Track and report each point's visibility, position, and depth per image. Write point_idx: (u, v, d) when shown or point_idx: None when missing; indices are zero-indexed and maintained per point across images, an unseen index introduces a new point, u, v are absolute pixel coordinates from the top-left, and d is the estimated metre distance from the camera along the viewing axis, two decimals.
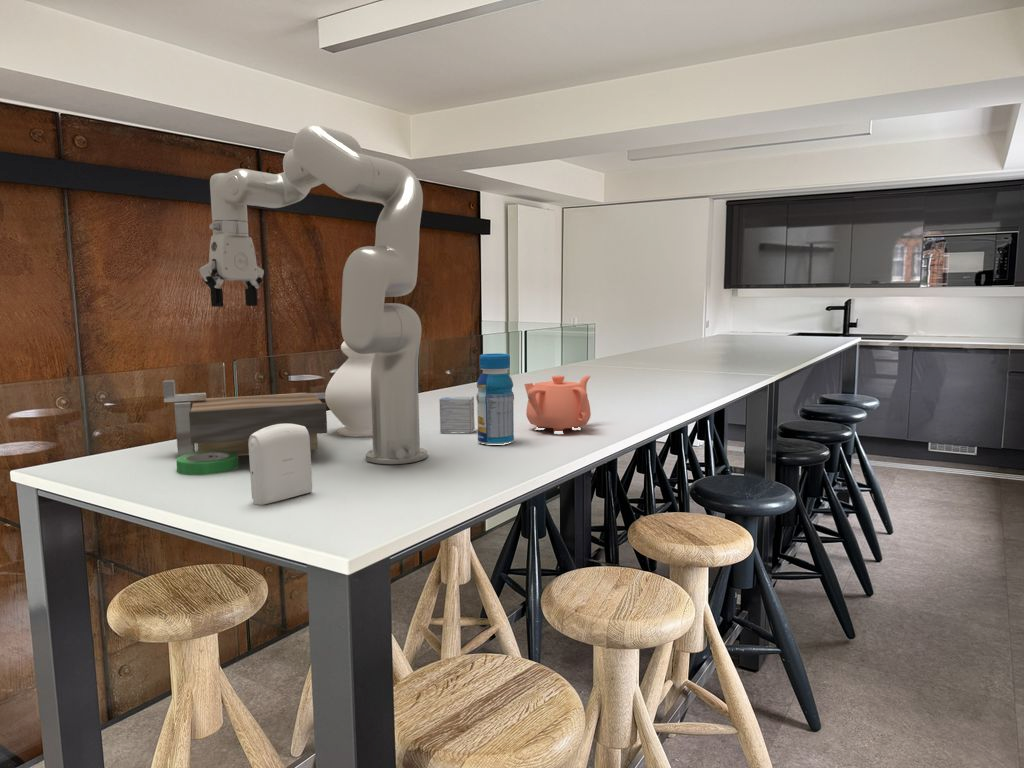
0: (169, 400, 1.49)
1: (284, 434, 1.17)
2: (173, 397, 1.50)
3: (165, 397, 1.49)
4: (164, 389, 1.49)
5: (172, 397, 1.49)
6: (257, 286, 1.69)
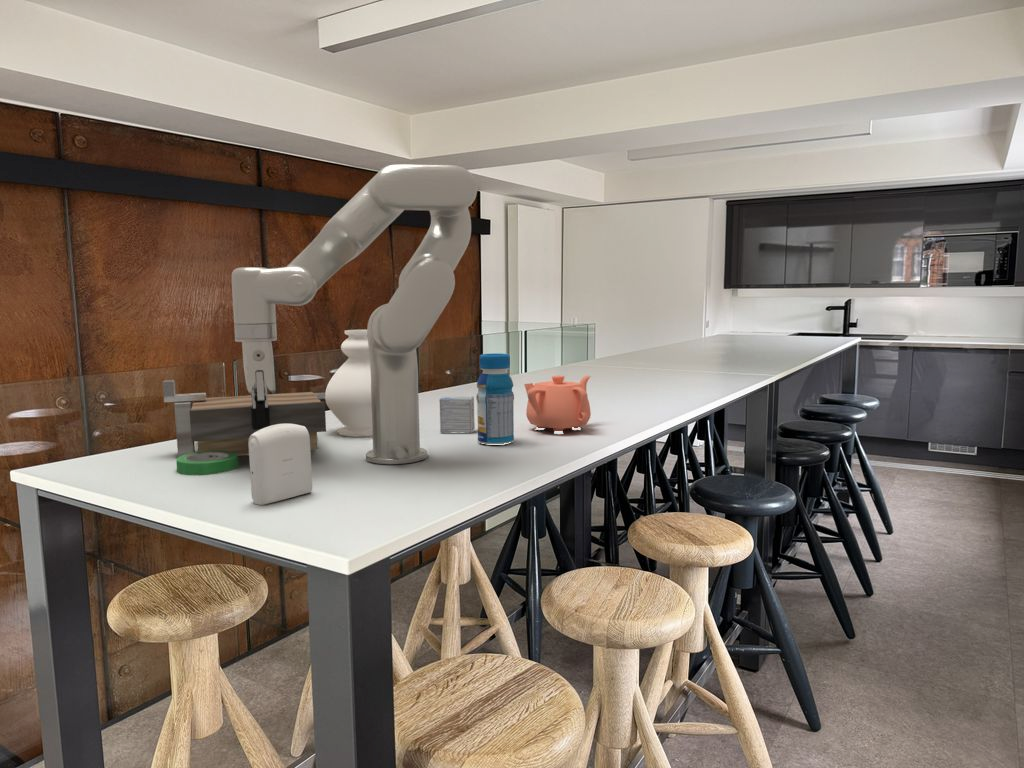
0: (169, 400, 1.49)
1: (284, 434, 1.17)
2: (173, 397, 1.50)
3: (165, 397, 1.49)
4: (164, 389, 1.49)
5: (172, 397, 1.49)
6: None
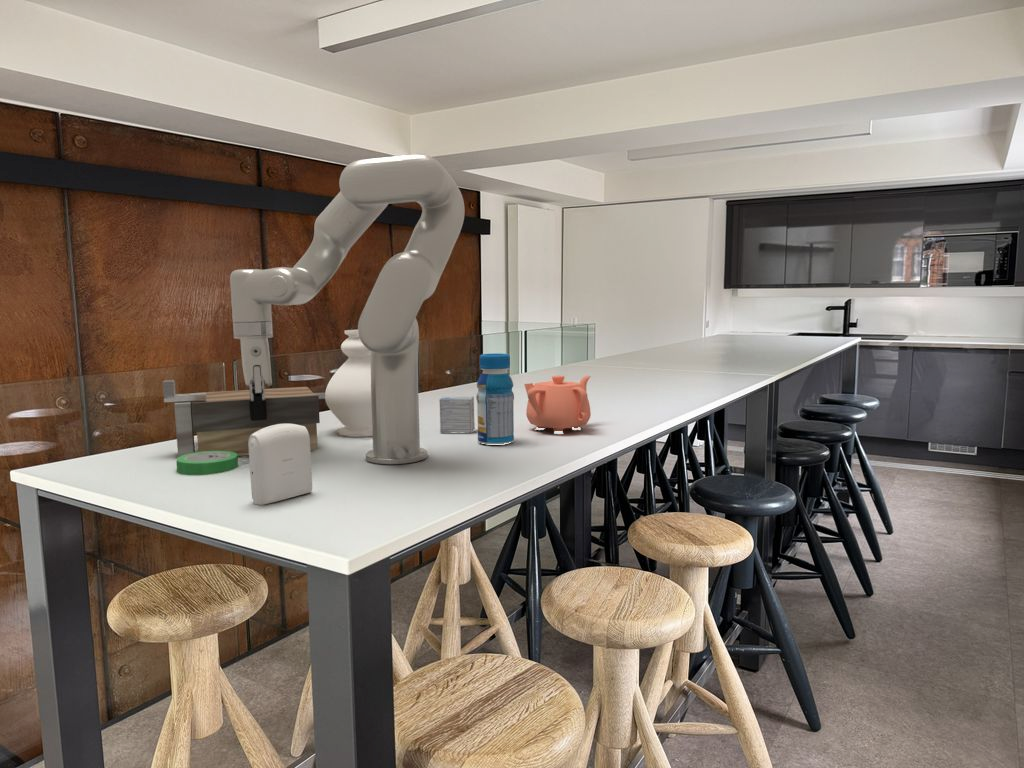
0: (169, 400, 1.49)
1: (284, 434, 1.17)
2: (173, 397, 1.50)
3: (165, 397, 1.49)
4: (164, 389, 1.49)
5: (172, 397, 1.49)
6: None
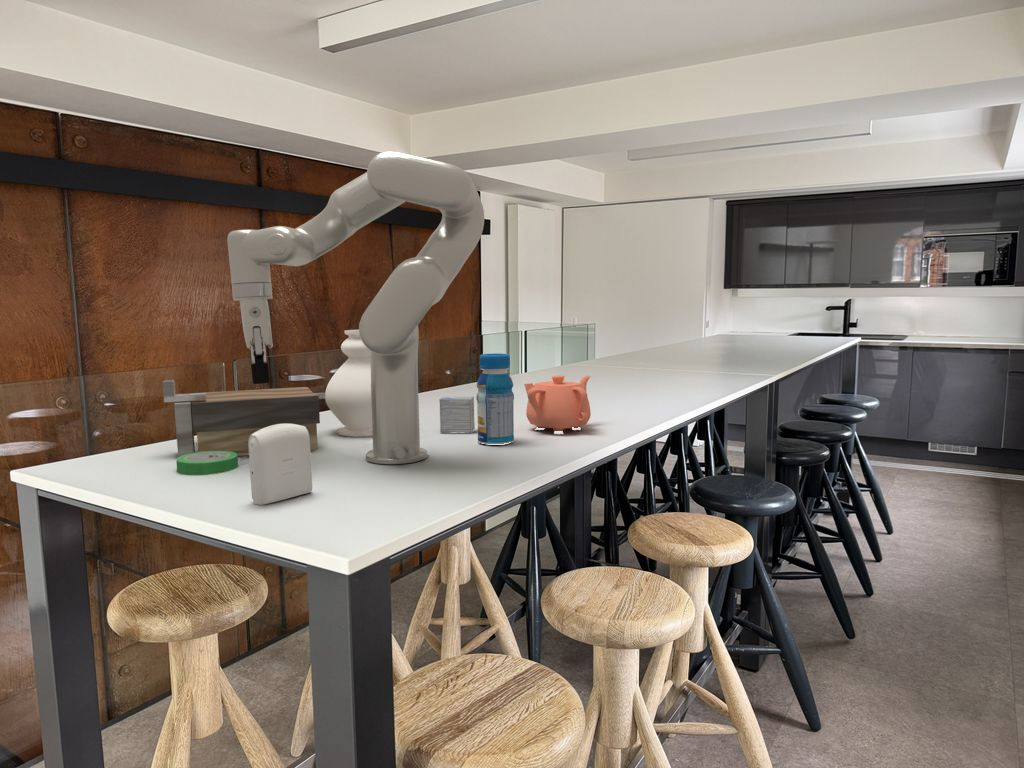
0: (169, 400, 1.49)
1: (284, 434, 1.17)
2: (173, 397, 1.50)
3: (165, 397, 1.49)
4: (164, 389, 1.49)
5: (172, 397, 1.49)
6: None
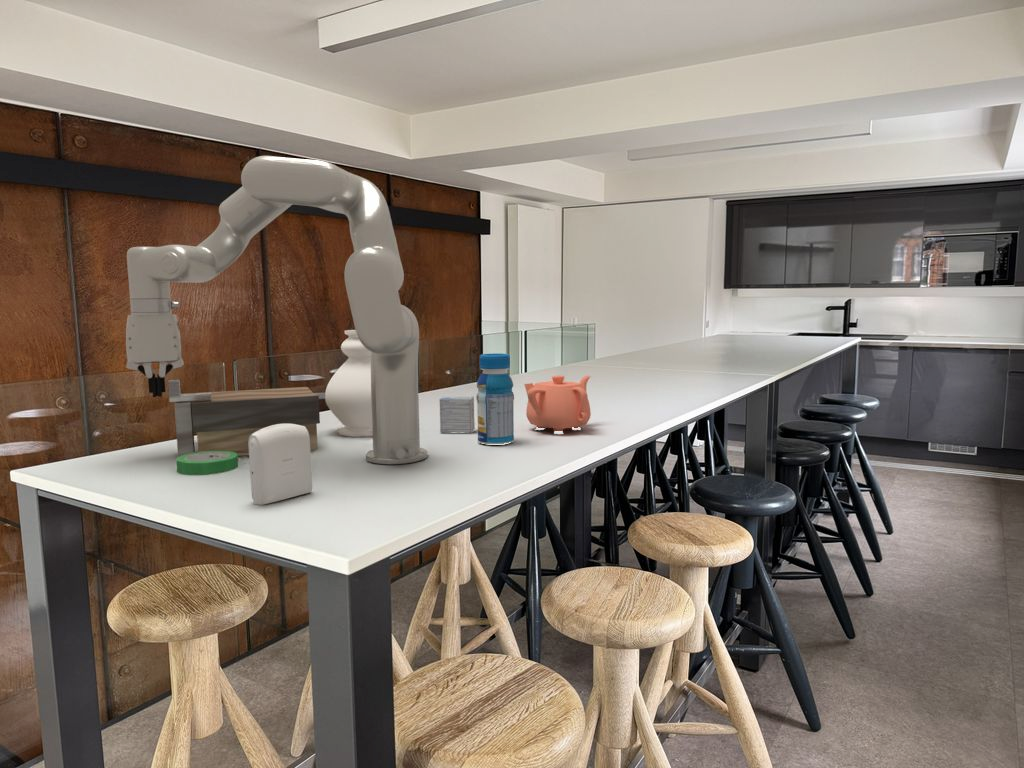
0: (174, 400, 1.50)
1: (284, 434, 1.17)
2: (178, 397, 1.50)
3: (170, 397, 1.49)
4: (169, 389, 1.49)
5: (177, 397, 1.50)
6: None
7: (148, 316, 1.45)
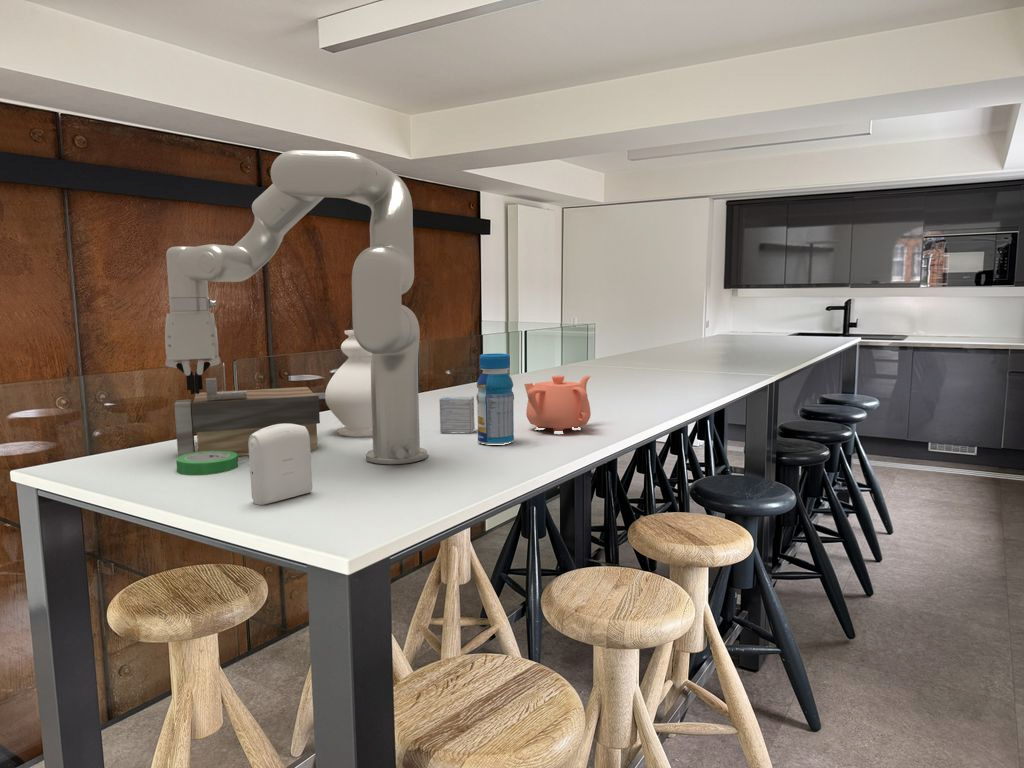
0: (212, 398, 1.52)
1: (284, 434, 1.17)
2: (215, 395, 1.53)
3: (208, 395, 1.52)
4: (207, 387, 1.52)
5: (214, 395, 1.52)
6: None
7: (187, 315, 1.48)
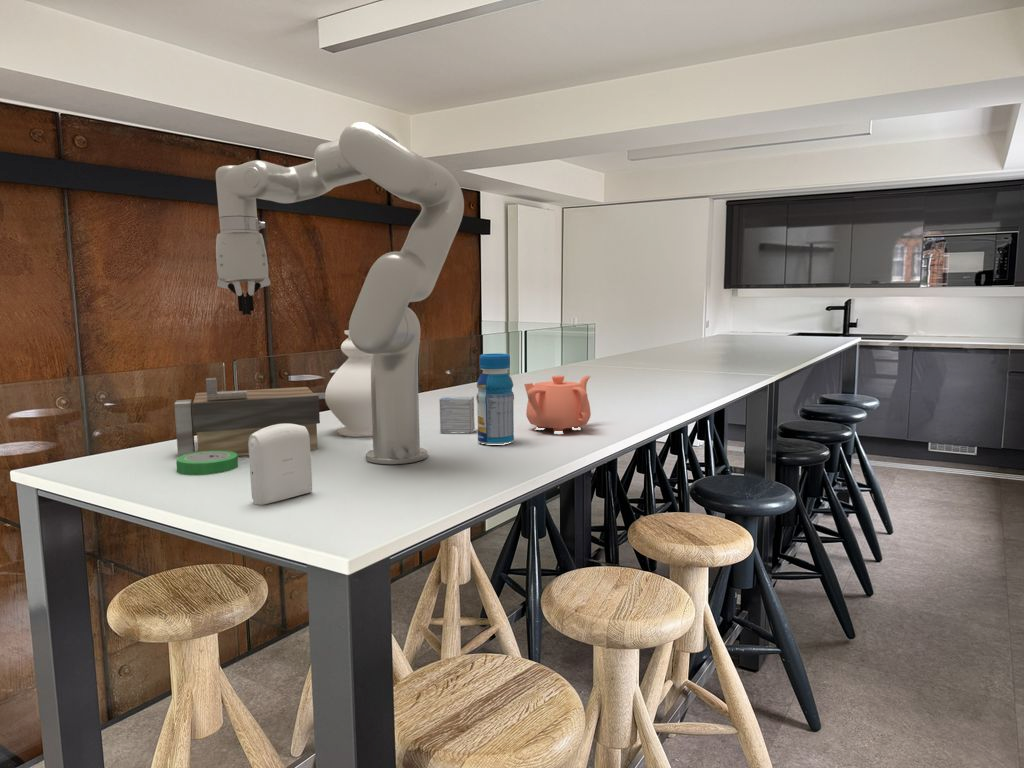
0: (212, 398, 1.52)
1: (284, 434, 1.17)
2: (215, 395, 1.53)
3: (208, 395, 1.52)
4: (207, 387, 1.52)
5: (215, 395, 1.52)
6: None
7: (238, 234, 1.49)
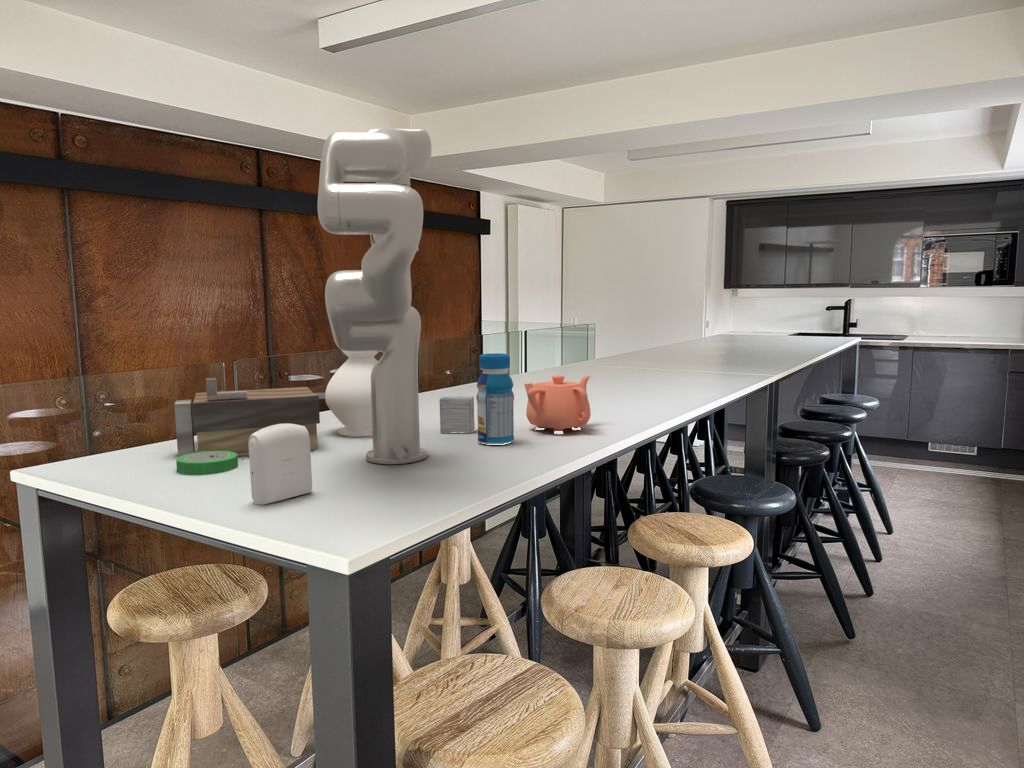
0: (212, 398, 1.52)
1: (284, 434, 1.17)
2: (215, 395, 1.53)
3: (208, 395, 1.52)
4: (207, 387, 1.52)
5: (215, 395, 1.52)
6: None
7: None
